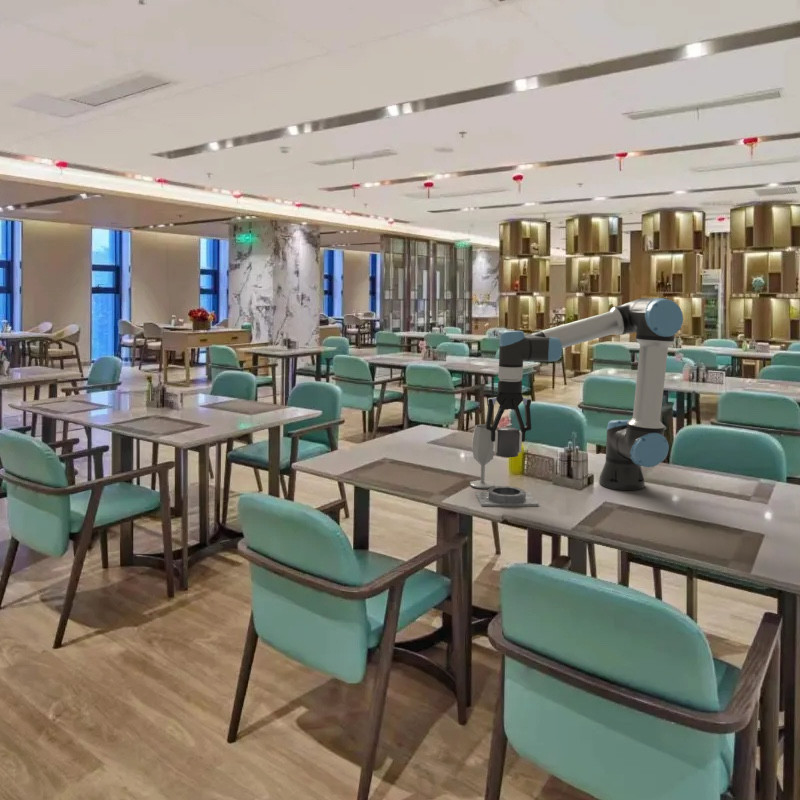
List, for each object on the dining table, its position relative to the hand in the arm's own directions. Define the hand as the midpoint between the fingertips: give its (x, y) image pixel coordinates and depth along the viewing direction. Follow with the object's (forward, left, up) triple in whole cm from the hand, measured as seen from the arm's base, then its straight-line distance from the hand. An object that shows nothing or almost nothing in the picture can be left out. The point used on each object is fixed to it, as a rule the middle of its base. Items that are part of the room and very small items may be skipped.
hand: (507, 451), depth 234 cm
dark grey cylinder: (0, 0, -1) cm, 1 cm away
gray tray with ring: (0, 0, -16) cm, 16 cm away
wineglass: (+5, -18, -16) cm, 24 cm away
